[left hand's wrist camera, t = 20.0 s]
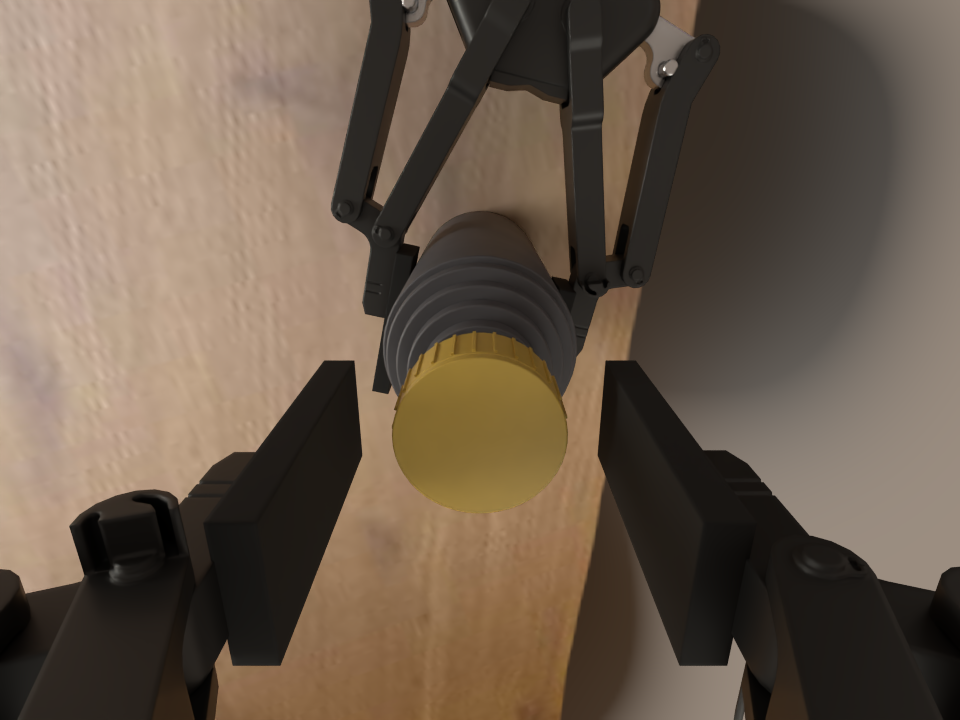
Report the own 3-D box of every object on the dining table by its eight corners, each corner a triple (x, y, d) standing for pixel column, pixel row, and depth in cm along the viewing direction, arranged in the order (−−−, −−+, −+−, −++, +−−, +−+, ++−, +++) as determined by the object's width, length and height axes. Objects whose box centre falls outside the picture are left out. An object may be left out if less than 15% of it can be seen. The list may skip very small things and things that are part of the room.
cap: (391, 461, 15) (380, 502, 13) (412, 316, 14) (402, 340, 12) (540, 484, 15) (548, 527, 14) (575, 344, 14) (589, 371, 12)
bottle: (553, 298, 32) (647, 487, 14) (451, 340, 33) (416, 568, 15) (511, 192, 30) (559, 251, 12) (404, 239, 31) (296, 361, 13)
